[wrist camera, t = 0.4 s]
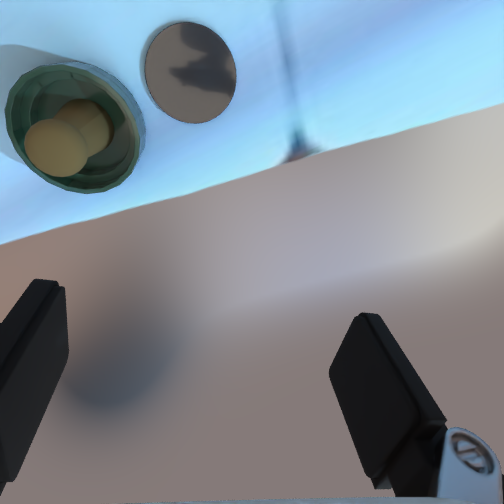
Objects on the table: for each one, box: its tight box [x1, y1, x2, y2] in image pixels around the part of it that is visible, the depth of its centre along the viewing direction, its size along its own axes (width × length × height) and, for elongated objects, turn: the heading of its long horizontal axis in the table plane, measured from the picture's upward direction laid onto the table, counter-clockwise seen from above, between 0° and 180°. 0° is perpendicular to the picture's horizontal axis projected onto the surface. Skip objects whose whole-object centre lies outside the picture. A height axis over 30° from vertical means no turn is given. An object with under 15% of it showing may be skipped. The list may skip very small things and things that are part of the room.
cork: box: [24, 98, 114, 177], centre depth 35 cm, size 6×6×11 cm
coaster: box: [145, 22, 236, 124], centre depth 38 cm, size 10×10×1 cm
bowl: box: [5, 62, 146, 194], centre depth 38 cm, size 13×13×4 cm
